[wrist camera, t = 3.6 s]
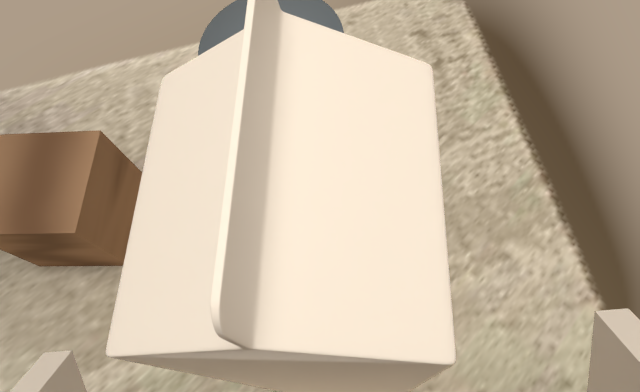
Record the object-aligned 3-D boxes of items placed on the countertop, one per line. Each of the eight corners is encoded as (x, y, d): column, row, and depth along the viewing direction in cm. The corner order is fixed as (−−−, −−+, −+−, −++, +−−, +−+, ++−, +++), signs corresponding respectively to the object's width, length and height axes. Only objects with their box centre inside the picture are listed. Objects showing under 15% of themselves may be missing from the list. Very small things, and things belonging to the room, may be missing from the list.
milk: (397, 283, 27) (467, -85, 7) (402, 399, 24) (529, 338, 5) (291, 282, 28) (80, -56, 8) (285, 395, 25) (-53, 329, 5)
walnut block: (40, 266, 30) (-35, 234, 24) (64, 181, 32) (0, 134, 27) (131, 265, 29) (75, 233, 24) (147, 178, 32) (100, 130, 26)
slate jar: (226, 172, 31) (163, 72, 22) (263, 82, 34) (221, -41, 25) (335, 196, 30) (316, 99, 20) (364, 100, 32) (359, -25, 23)
